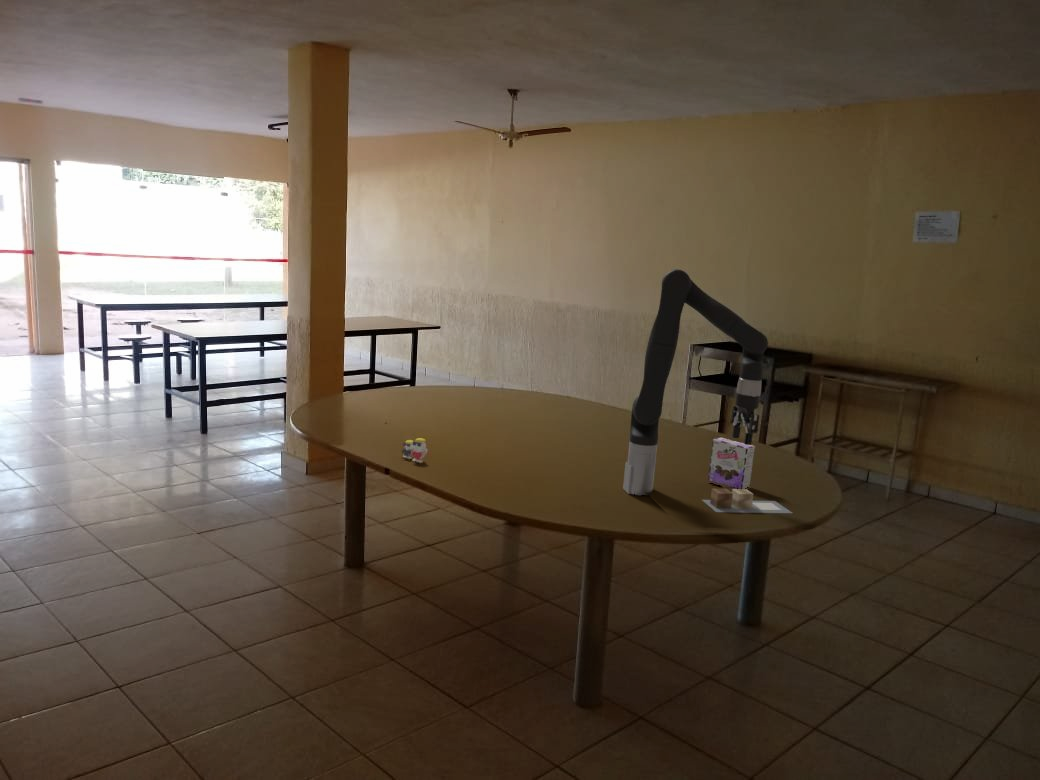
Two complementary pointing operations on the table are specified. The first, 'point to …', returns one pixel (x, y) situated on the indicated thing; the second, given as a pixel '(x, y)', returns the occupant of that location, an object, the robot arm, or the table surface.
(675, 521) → the table surface
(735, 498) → the birch block
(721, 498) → the walnut block
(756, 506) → the board
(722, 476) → the candy box
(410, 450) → the toy figures
